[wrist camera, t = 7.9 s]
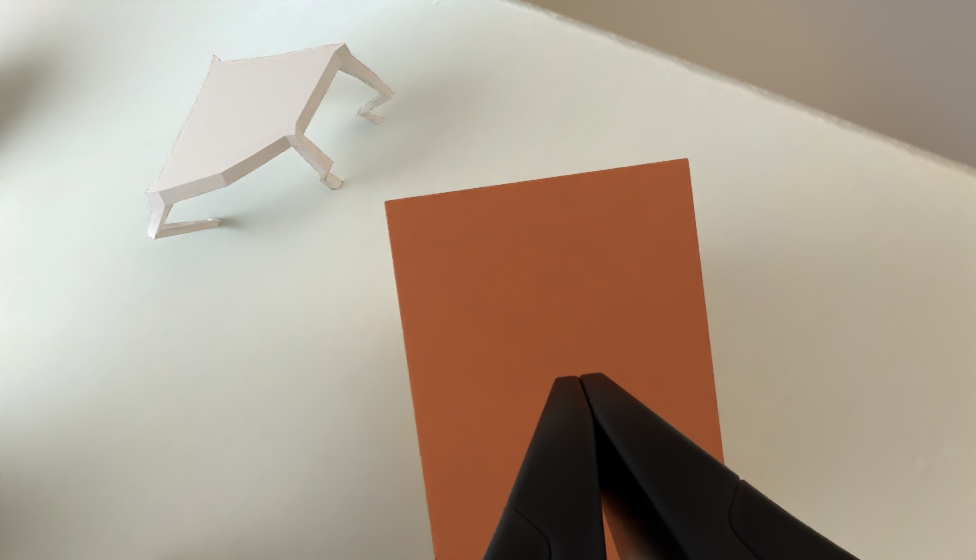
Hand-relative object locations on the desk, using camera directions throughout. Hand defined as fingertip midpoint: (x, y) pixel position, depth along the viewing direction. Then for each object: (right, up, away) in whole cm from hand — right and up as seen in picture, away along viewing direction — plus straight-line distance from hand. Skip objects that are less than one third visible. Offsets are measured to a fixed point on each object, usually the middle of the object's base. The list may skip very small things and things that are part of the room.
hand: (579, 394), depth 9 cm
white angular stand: (-12, +8, +17) cm, 22 cm away
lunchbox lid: (0, -1, +6) cm, 6 cm away
